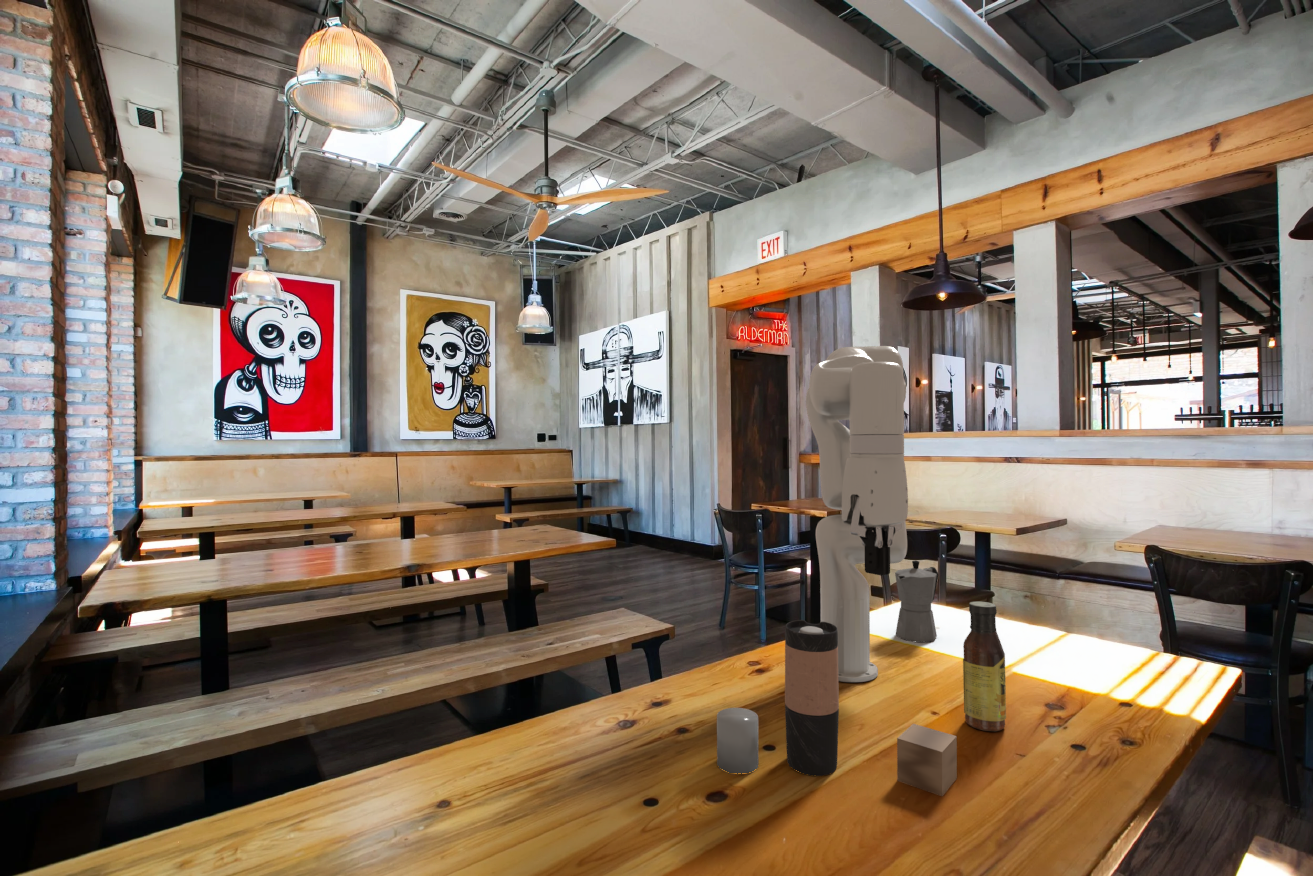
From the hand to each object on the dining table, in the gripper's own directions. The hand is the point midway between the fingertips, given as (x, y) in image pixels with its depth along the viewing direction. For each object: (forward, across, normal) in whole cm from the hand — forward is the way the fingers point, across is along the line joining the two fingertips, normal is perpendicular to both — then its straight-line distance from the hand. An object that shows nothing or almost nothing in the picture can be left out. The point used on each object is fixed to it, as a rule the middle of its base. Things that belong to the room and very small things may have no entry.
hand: (877, 573), depth 95 cm
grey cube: (+28, -2, +6) cm, 29 cm away
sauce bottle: (+28, -25, +2) cm, 38 cm away
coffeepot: (+27, -59, -31) cm, 72 cm away
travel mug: (+28, +8, -6) cm, 30 cm away
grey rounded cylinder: (+28, +16, -12) cm, 35 cm away
